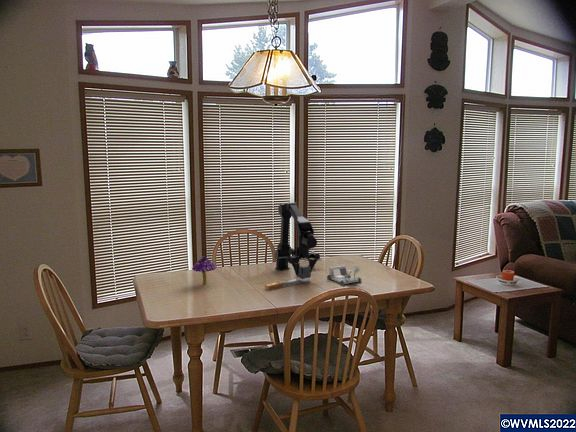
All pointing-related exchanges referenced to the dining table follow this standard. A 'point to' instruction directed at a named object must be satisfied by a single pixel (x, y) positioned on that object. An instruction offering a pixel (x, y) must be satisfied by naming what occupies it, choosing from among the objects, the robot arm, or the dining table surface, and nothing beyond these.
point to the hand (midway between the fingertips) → (303, 273)
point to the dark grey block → (304, 271)
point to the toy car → (343, 275)
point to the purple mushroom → (204, 267)
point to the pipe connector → (307, 259)
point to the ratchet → (286, 283)
